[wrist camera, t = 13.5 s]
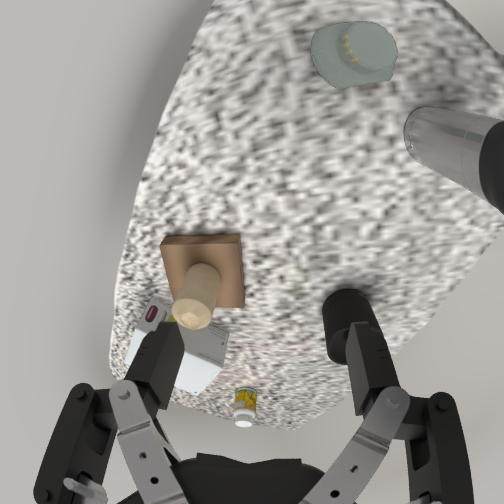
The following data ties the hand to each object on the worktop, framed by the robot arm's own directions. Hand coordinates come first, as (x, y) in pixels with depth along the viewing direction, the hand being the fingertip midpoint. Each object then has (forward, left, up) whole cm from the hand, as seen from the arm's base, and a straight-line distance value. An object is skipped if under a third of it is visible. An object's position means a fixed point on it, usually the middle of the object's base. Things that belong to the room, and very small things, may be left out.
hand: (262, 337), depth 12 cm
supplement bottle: (+7, +53, -29) cm, 61 cm away
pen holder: (-13, +24, -29) cm, 40 cm away
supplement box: (+19, +31, -30) cm, 47 cm away
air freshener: (-11, -17, -29) cm, 36 cm away
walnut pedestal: (+11, +15, -29) cm, 34 cm away
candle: (+10, +15, -26) cm, 32 cm away
